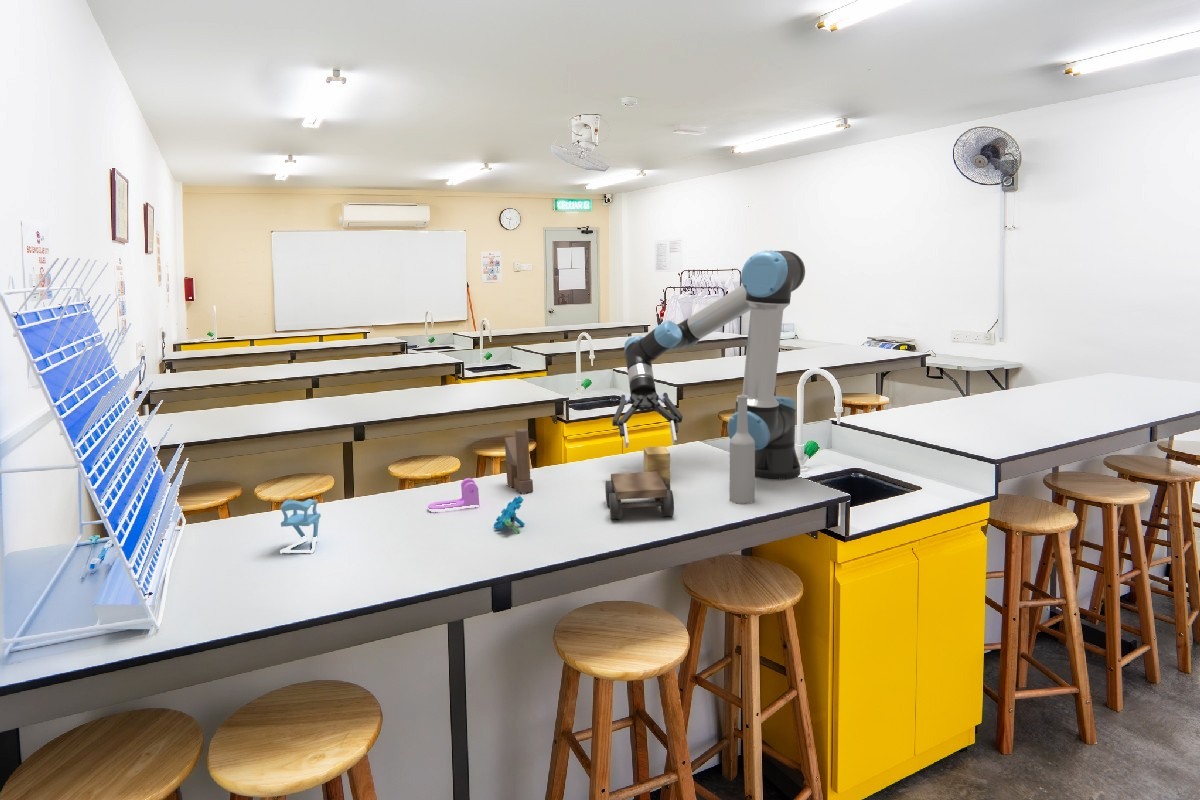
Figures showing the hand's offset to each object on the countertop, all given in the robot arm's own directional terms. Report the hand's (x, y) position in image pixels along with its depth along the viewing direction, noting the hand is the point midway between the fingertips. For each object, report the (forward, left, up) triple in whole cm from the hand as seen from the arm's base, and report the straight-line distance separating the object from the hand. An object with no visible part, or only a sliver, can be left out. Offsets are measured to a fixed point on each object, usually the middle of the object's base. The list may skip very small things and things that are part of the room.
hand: (651, 443), depth 206 cm
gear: (+39, +27, -13) cm, 50 cm away
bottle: (-22, +16, -13) cm, 30 cm away
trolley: (+6, +19, -12) cm, 24 cm away
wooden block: (+37, -5, -13) cm, 40 cm away
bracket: (+55, +9, -13) cm, 57 cm away
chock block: (-1, +6, -12) cm, 14 cm away
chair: (+86, +32, -13) cm, 93 cm away
